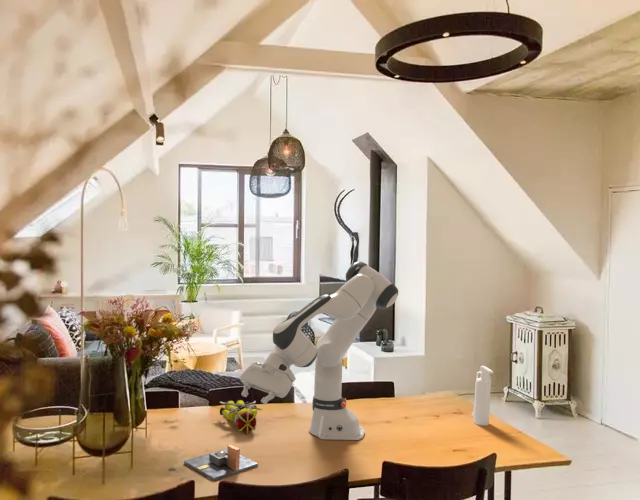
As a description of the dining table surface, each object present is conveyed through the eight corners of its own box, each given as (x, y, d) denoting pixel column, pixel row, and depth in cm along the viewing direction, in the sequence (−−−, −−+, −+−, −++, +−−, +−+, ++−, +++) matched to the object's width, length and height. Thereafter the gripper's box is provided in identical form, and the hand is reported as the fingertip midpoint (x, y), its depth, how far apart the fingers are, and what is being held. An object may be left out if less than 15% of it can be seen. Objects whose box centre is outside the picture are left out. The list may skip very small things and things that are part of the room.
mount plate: (257, 466, 202) (258, 453, 202) (213, 481, 190) (214, 467, 190) (227, 450, 215) (227, 438, 215) (184, 463, 203) (184, 450, 202)
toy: (216, 416, 257) (227, 438, 228) (216, 395, 257) (227, 414, 228) (252, 414, 262) (268, 434, 233) (253, 393, 262) (268, 411, 233)
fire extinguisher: (479, 416, 263) (481, 362, 261) (495, 426, 252) (497, 369, 250) (466, 418, 261) (468, 362, 259) (481, 428, 250) (483, 370, 248)
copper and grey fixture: (244, 467, 198) (245, 447, 197) (230, 472, 194) (230, 451, 193) (223, 456, 206) (223, 437, 206) (209, 460, 202) (209, 440, 202)
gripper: (250, 356, 216) (228, 386, 209) (292, 369, 204) (270, 402, 197) (257, 366, 220) (235, 396, 213) (299, 380, 208) (278, 412, 201)
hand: (252, 399), depth 205 cm, fingers open, 8 cm apart
